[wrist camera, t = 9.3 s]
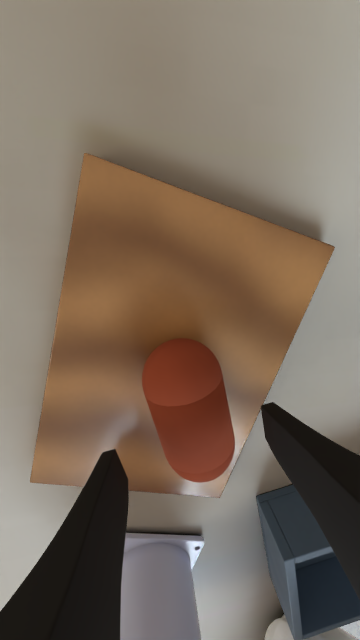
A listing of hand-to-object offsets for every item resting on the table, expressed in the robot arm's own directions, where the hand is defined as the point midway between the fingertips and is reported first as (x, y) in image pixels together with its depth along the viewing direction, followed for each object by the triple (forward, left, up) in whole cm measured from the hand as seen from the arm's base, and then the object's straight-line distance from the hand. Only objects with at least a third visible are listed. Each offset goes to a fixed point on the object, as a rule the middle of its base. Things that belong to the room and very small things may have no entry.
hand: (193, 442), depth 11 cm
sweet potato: (0, 0, -4) cm, 4 cm away
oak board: (+1, +1, -5) cm, 6 cm away
